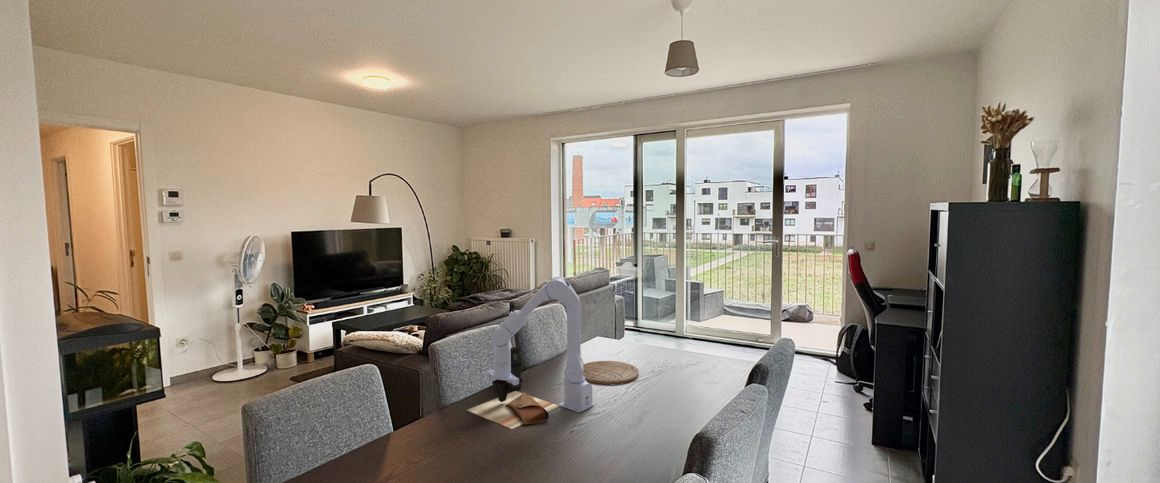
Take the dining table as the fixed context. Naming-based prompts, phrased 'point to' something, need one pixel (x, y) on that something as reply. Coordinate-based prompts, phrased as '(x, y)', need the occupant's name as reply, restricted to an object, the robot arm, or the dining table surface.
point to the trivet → (609, 372)
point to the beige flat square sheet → (506, 410)
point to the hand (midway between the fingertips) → (502, 400)
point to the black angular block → (515, 367)
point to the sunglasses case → (528, 409)
